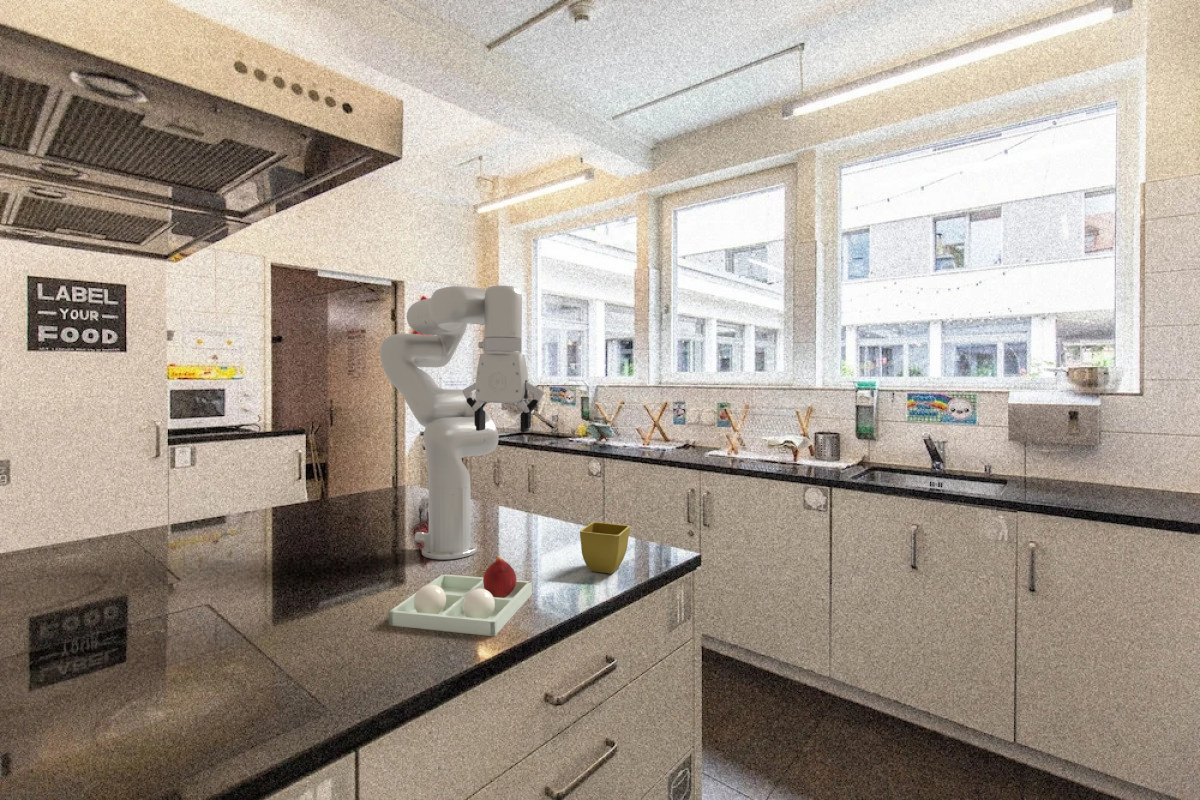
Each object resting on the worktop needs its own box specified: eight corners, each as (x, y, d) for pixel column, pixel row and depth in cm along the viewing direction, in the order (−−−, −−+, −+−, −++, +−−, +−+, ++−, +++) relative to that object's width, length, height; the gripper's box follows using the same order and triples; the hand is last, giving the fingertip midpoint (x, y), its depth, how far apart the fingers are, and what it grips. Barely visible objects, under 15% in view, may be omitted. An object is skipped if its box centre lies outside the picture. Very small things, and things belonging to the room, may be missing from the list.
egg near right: (456, 625, 91) (456, 593, 91) (470, 613, 96) (470, 582, 96) (487, 628, 90) (487, 596, 90) (499, 615, 95) (499, 585, 95)
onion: (519, 595, 104) (519, 552, 104) (511, 607, 98) (511, 562, 98) (489, 593, 105) (489, 550, 105) (478, 605, 99) (478, 560, 99)
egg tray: (388, 631, 91) (388, 611, 91) (442, 590, 109) (442, 574, 109) (494, 642, 87) (494, 621, 87) (532, 598, 105) (532, 581, 105)
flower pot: (630, 565, 124) (630, 525, 124) (618, 578, 116) (618, 535, 116) (592, 561, 127) (592, 521, 127) (578, 573, 119) (578, 531, 119)
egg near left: (407, 620, 93) (407, 589, 93) (423, 608, 98) (423, 578, 98) (436, 623, 92) (436, 592, 92) (451, 611, 97) (451, 581, 97)
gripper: (455, 346, 114) (455, 431, 115) (537, 346, 111) (536, 434, 111) (471, 348, 122) (471, 428, 122) (549, 348, 118) (548, 430, 119)
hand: (502, 430), depth 117 cm, fingers open, 9 cm apart
